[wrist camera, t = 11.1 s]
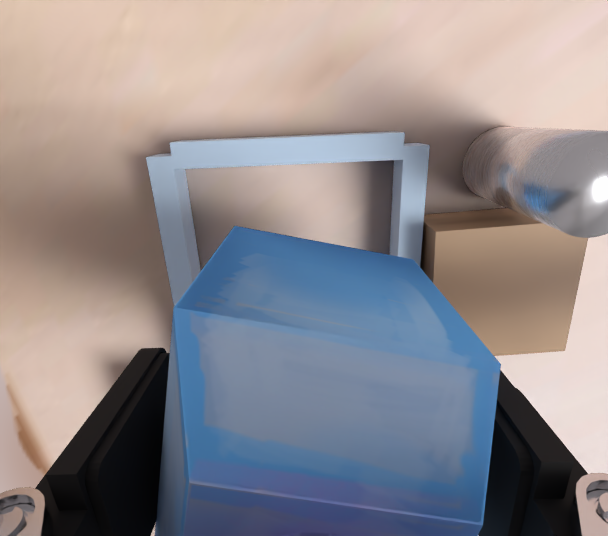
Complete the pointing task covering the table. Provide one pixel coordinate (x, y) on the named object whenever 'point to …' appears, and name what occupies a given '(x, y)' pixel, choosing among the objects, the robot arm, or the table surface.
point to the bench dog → (544, 175)
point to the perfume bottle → (322, 398)
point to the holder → (283, 151)
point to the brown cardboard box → (505, 276)
